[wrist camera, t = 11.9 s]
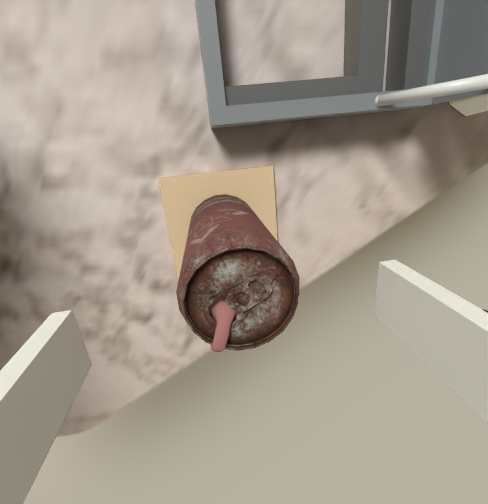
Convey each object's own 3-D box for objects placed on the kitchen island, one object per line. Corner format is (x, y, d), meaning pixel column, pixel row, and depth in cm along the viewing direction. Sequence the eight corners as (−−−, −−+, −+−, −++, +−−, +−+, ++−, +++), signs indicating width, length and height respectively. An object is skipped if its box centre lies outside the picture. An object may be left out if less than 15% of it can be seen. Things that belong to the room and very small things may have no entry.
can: (183, 253, 26) (162, 353, 13) (197, 186, 25) (189, 226, 11) (245, 265, 28) (282, 368, 15) (263, 202, 26) (323, 256, 13)
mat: (179, 282, 28) (179, 283, 27) (158, 178, 24) (158, 178, 24) (278, 267, 29) (279, 269, 28) (272, 165, 25) (273, 165, 25)
